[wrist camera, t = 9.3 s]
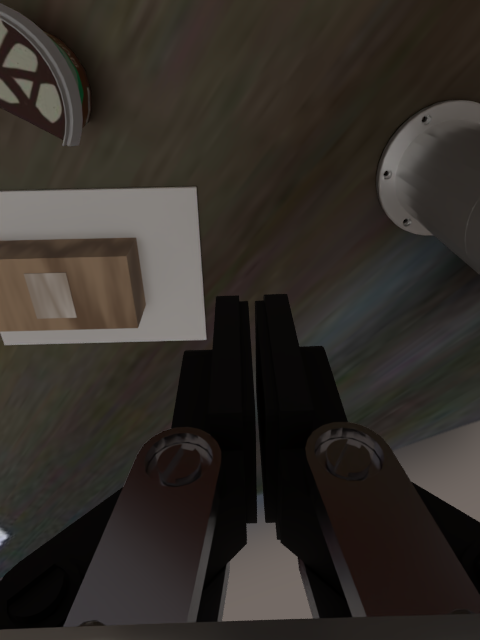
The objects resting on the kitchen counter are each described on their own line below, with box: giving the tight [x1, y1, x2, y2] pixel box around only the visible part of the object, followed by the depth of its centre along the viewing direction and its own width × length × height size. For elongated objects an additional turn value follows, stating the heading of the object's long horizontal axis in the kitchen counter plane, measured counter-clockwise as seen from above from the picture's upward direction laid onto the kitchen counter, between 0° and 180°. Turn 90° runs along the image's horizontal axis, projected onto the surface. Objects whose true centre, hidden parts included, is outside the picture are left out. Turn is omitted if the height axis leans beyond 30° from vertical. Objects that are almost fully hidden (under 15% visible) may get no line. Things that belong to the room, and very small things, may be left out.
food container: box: [0, 4, 92, 146], centre depth 33 cm, size 12×6×10 cm, turn 61°
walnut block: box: [0, 238, 146, 332], centre depth 45 cm, size 5×8×15 cm
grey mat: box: [0, 186, 206, 345], centre depth 47 cm, size 24×18×1 cm
